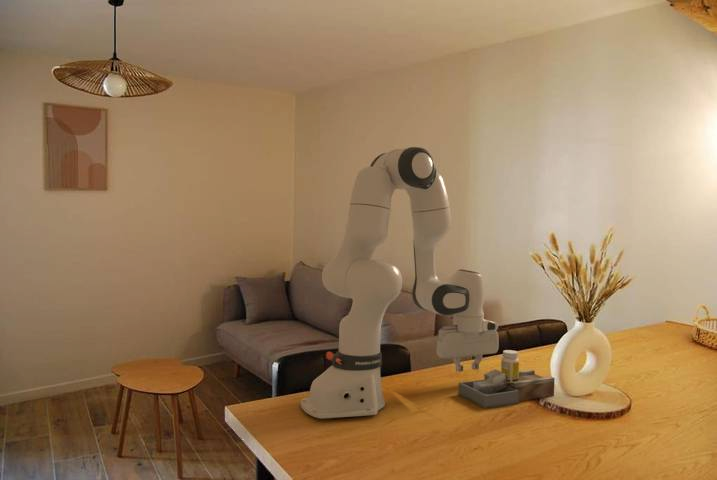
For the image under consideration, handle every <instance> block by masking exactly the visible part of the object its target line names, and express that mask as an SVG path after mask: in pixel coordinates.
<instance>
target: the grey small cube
mask: <svg viewBox="0 0 717 480" xmlns="http://www.w3.org/2000/svg"><path fill="white" fill-rule="evenodd" d="M483 377H484V379H485V381H487V382H489V383H491V384H494V391H495V392H497V391H499V390H501V389H503V388H505V387H507V383H506V378H505V373H503V372H501V370H498V369H495V368H494V369H493V370H490V371H488V372H486V373H484V374H483Z"/></svg>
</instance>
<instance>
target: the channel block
mask: <svg viewBox="0 0 717 480" xmlns="http://www.w3.org/2000/svg"><path fill="white" fill-rule="evenodd" d="M535 371H536V370H534V369H527V370H519V381H517V382H512V384H511V383H507V386H509V387H511V388H513V389H516V390H518V391H519V402H520V401H521V402H522V401H527V400H534V399H540V397H541V398H545V397H544V396H548V397H553V396H555V377H553V376H548V377H544V376H541V375H538V374H536V372H535Z"/></svg>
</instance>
